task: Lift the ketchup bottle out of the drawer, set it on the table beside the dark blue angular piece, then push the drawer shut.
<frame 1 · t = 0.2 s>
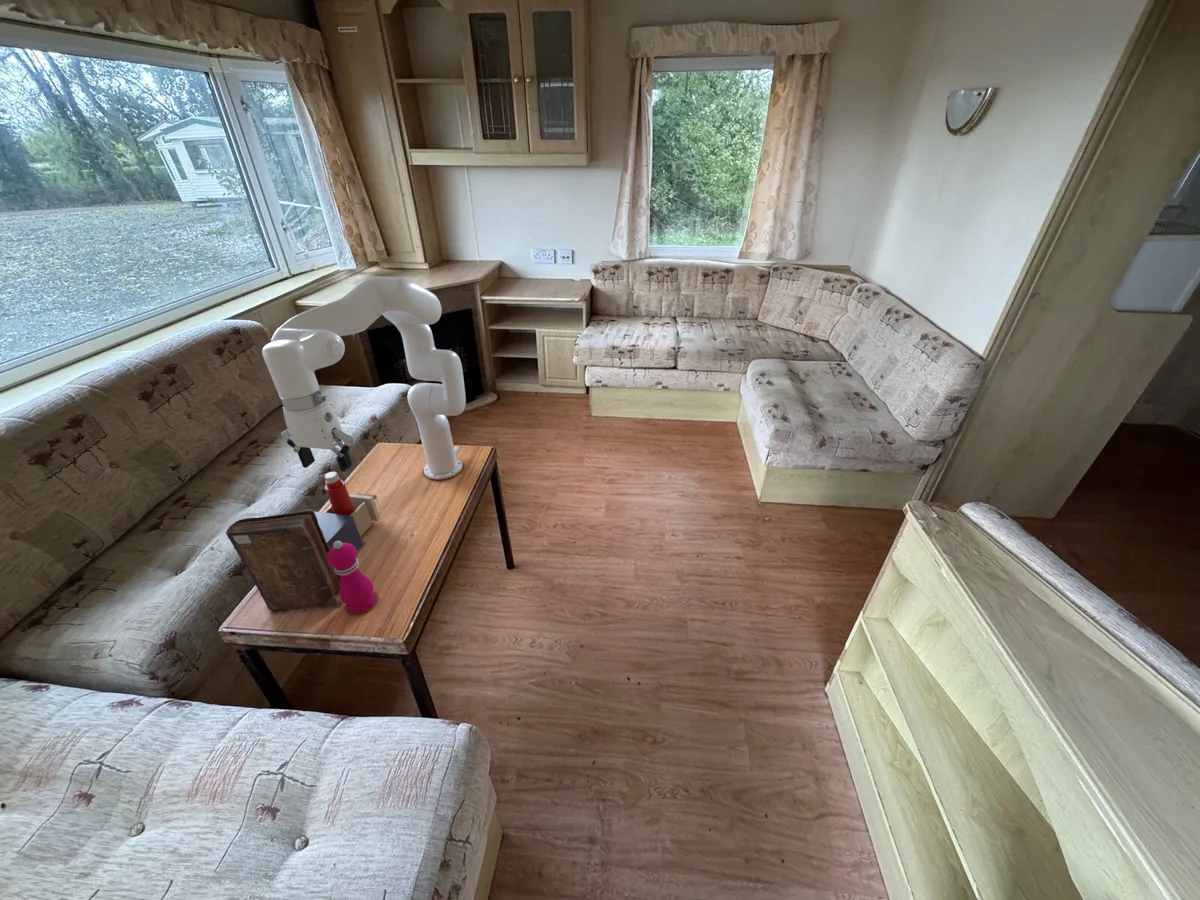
hand: (328, 466, 110), 31 cm above the table, tool pointing down, fingers open, 9 cm apart
book: (308, 599, 117), on the table
drawer: (350, 516, 136), point 5 cm above the table, slide at 8.5 cm, touching ketchup bottle
dark blue angular piece: (327, 560, 128), on the table
ketchup bottle: (350, 527, 136), point 2 cm above the table, touching drawer
pepper mill: (362, 604, 116), on the table
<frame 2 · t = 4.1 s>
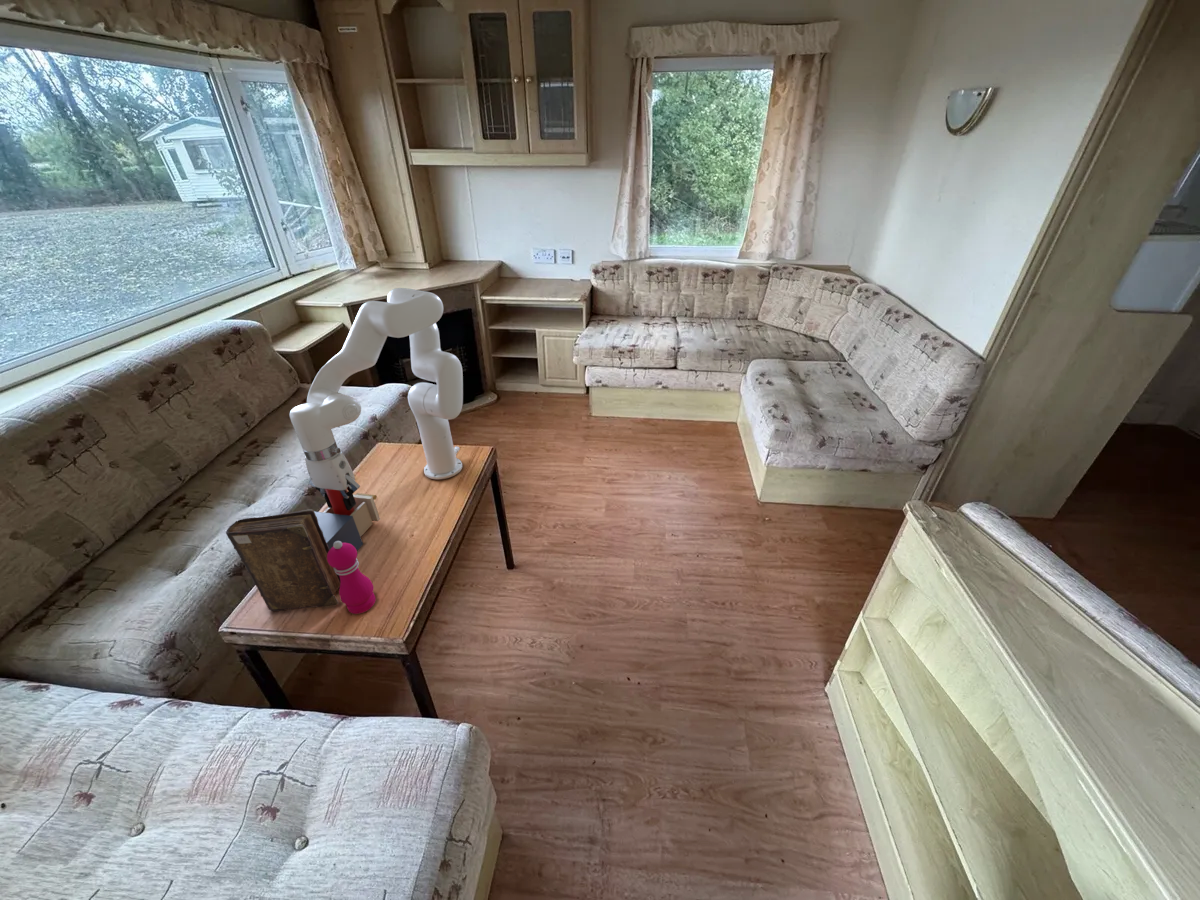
hand: (342, 505, 132), 10 cm above the table, tool pointing down, fingers closed on ketchup bottle, 4 cm apart
ketchup bottle: (350, 527, 136), point 2 cm above the table, touching drawer, gripper
everything else where it was.
when the fingers open (8 cm above the table, at t = 11.1 s): ketchup bottle stays where it is, on the table.
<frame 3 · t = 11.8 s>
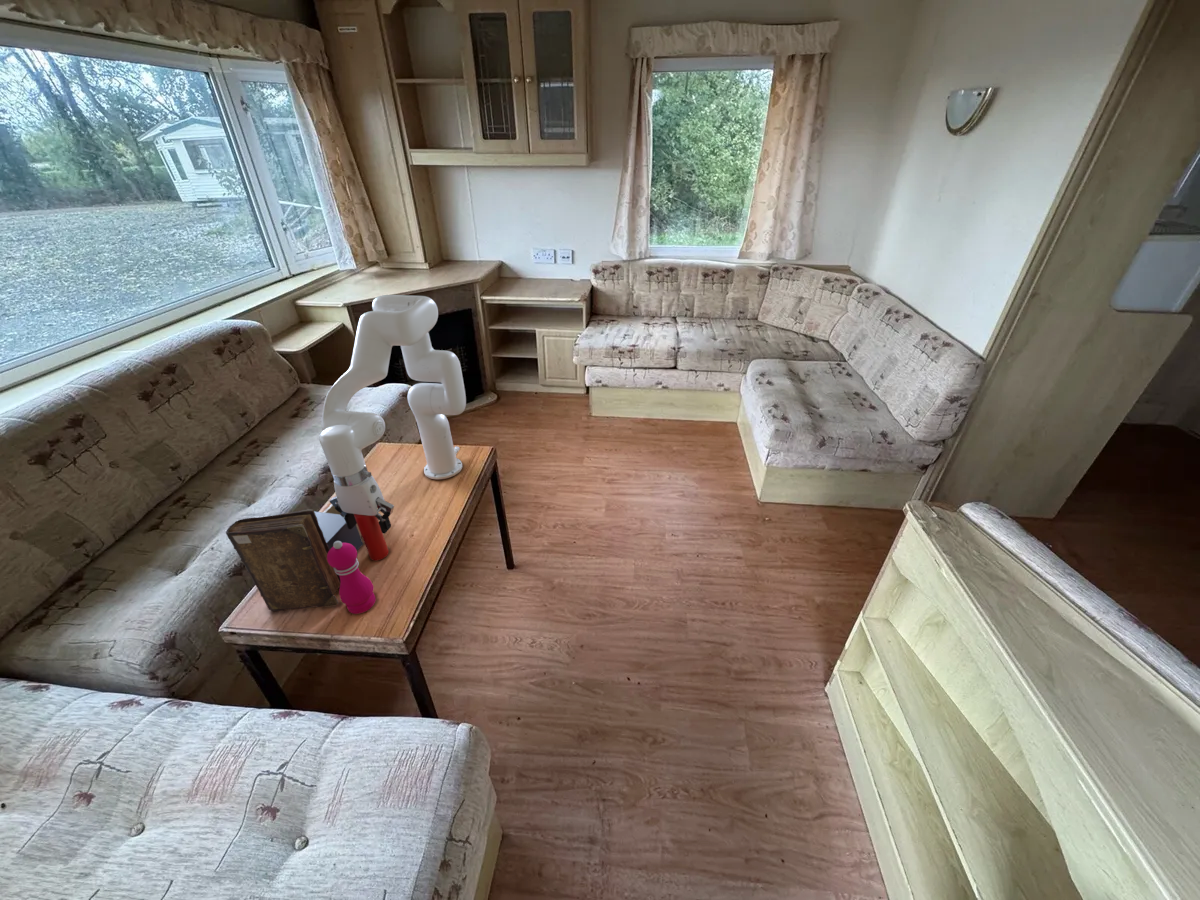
hand: (370, 527, 125), 9 cm above the table, tool pointing down, fingers open, 9 cm apart
drawer: (350, 516, 136), point 5 cm above the table, slide at 8.5 cm
ketchup bottle: (379, 554, 130), on the table
everything else where it was.
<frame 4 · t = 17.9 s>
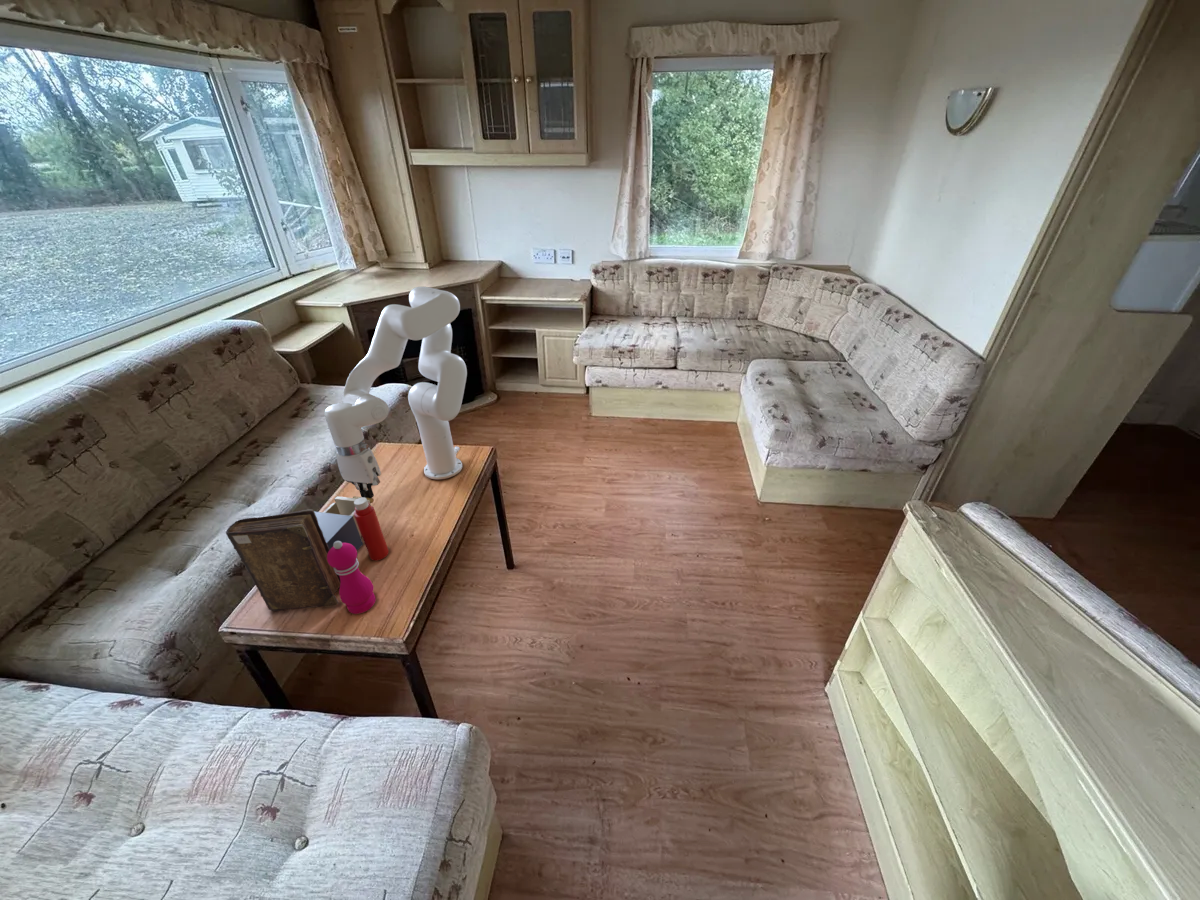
hand: (368, 498, 143), 5 cm above the table, tool pointing down, fingers closed
drawer: (346, 520, 134), point 5 cm above the table, slide at 6.9 cm
everything else where it was.
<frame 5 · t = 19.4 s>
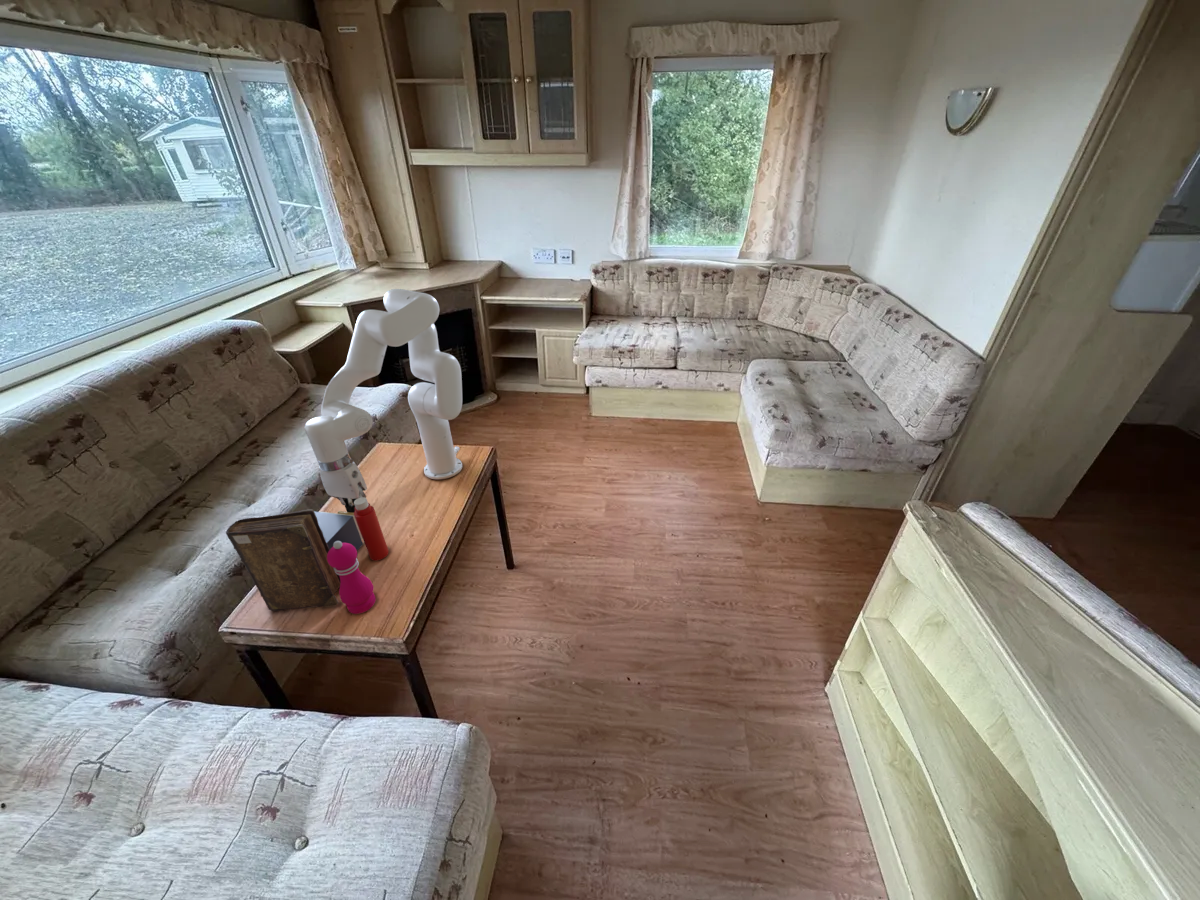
hand: (354, 513, 137), 5 cm above the table, tool pointing down, fingers closed
drawer: (330, 536, 128), point 5 cm above the table, slide at 0.0 cm, touching dark blue angular piece, gripper
everything else where it was.
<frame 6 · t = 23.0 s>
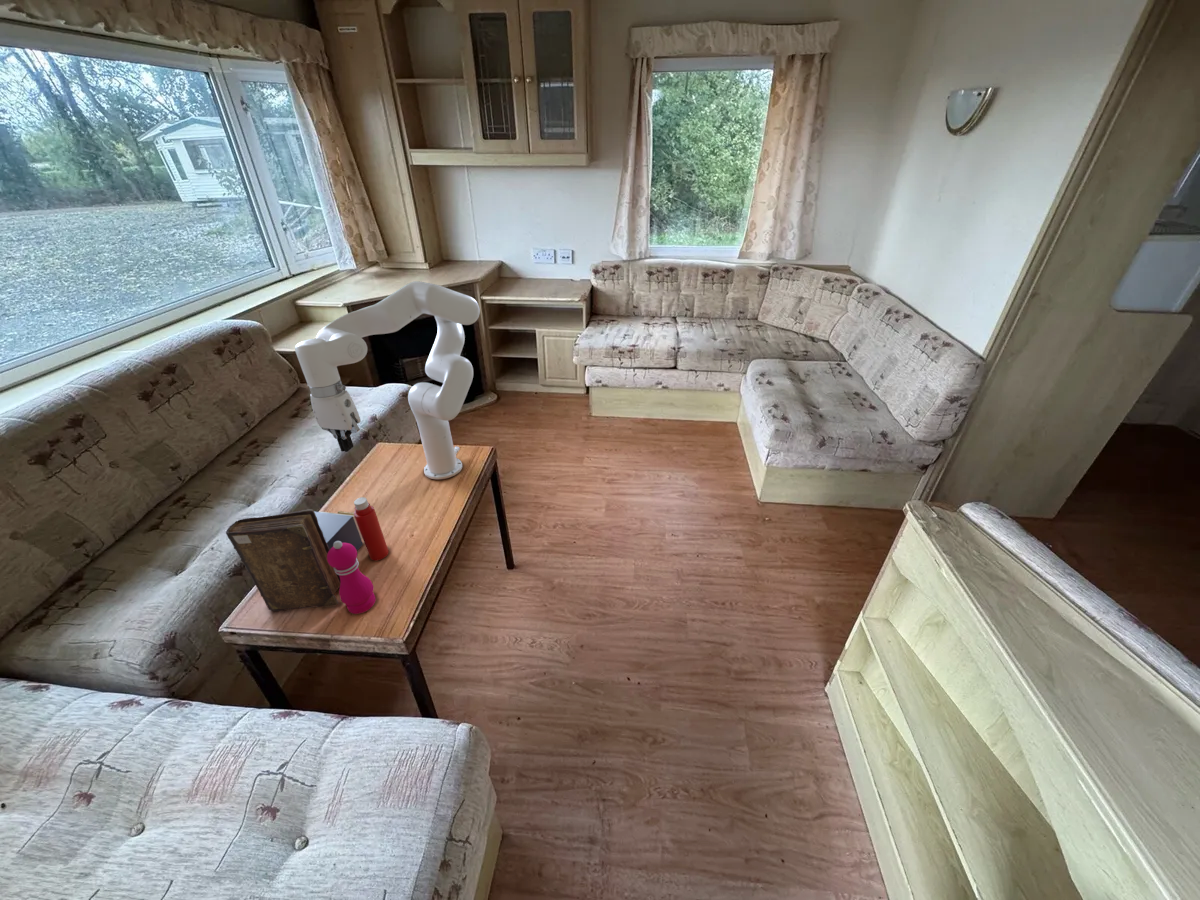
hand: (347, 449, 132), 23 cm above the table, tool pointing down, fingers closed
drawer: (330, 536, 128), point 5 cm above the table, slide at 0.0 cm, touching dark blue angular piece
everything else where it was.
at the end: ketchup bottle inside the target area (0.0 cm from its centre), on the table; ketchup bottle tilted 0°; drawer slide at 0.0 cm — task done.
